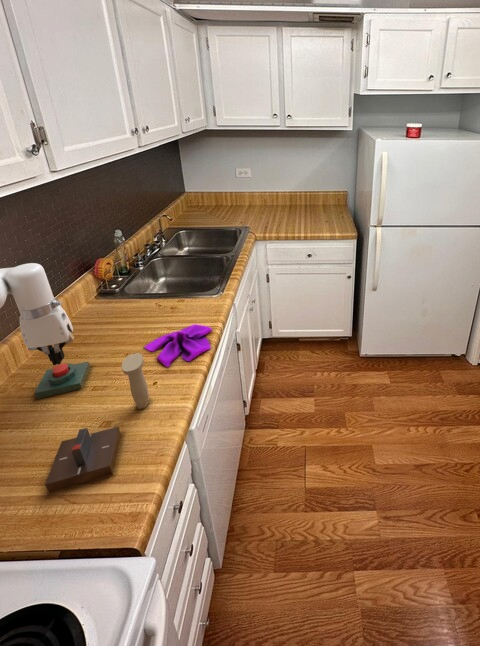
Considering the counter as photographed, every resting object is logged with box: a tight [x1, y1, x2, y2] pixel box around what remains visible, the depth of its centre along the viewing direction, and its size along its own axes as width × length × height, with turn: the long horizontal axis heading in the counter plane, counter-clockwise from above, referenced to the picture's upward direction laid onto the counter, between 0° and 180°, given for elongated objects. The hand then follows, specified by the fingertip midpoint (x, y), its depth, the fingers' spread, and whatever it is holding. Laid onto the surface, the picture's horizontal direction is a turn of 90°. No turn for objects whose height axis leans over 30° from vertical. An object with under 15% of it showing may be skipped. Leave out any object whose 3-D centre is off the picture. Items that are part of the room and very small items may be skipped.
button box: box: [33, 361, 91, 400], centre depth 97 cm, size 11×9×4 cm
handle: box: [121, 352, 150, 410], centre depth 88 cm, size 5×6×15 cm
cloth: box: [144, 324, 213, 368], centre depth 112 cm, size 22×19×6 cm
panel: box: [44, 426, 122, 494], centre depth 76 cm, size 12×10×3 cm
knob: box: [72, 427, 92, 466], centre depth 75 cm, size 6×2×5 cm, turn 19°
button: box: [52, 363, 69, 377], centre depth 97 cm, size 4×4×2 cm
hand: (58, 361), depth 95 cm, fingers closed
